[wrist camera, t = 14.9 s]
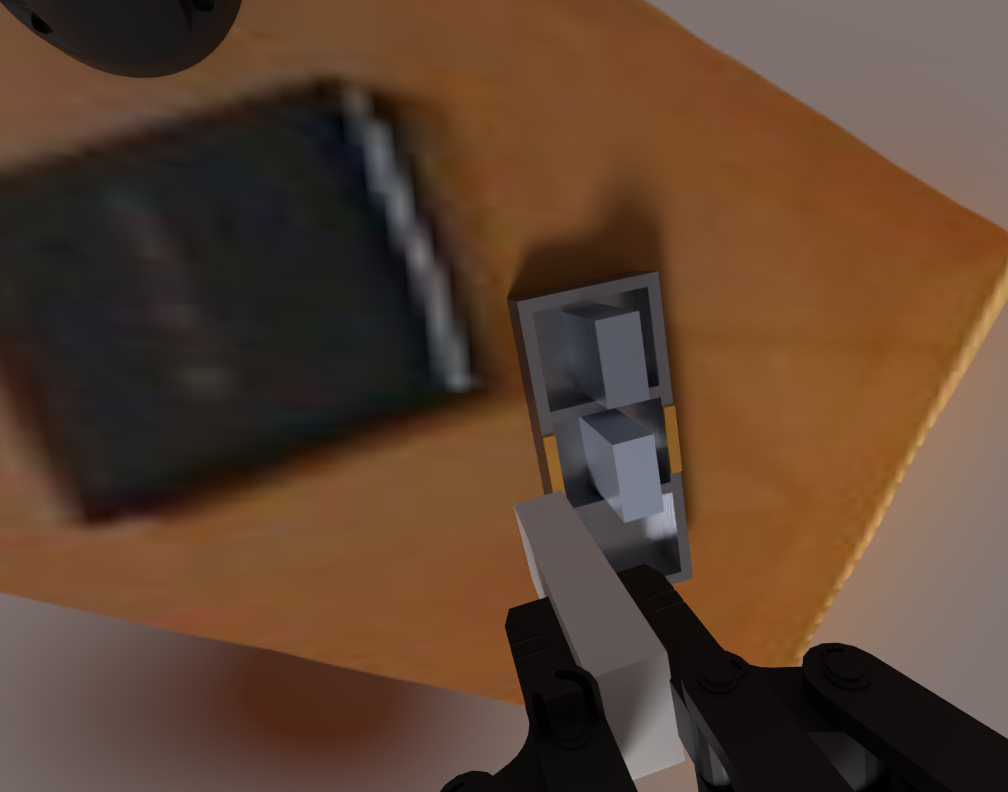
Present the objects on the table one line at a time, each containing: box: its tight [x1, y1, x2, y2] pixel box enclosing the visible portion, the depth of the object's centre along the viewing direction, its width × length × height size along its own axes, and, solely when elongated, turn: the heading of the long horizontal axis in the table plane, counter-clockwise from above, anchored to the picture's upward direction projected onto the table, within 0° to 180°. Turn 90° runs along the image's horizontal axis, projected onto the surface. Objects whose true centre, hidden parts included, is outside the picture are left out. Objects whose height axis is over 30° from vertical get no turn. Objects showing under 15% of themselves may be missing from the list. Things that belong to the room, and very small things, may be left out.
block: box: [579, 408, 664, 523], centre depth 42 cm, size 6×3×8 cm, turn 12°
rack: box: [507, 271, 693, 584], centre depth 43 cm, size 28×11×9 cm, turn 11°
